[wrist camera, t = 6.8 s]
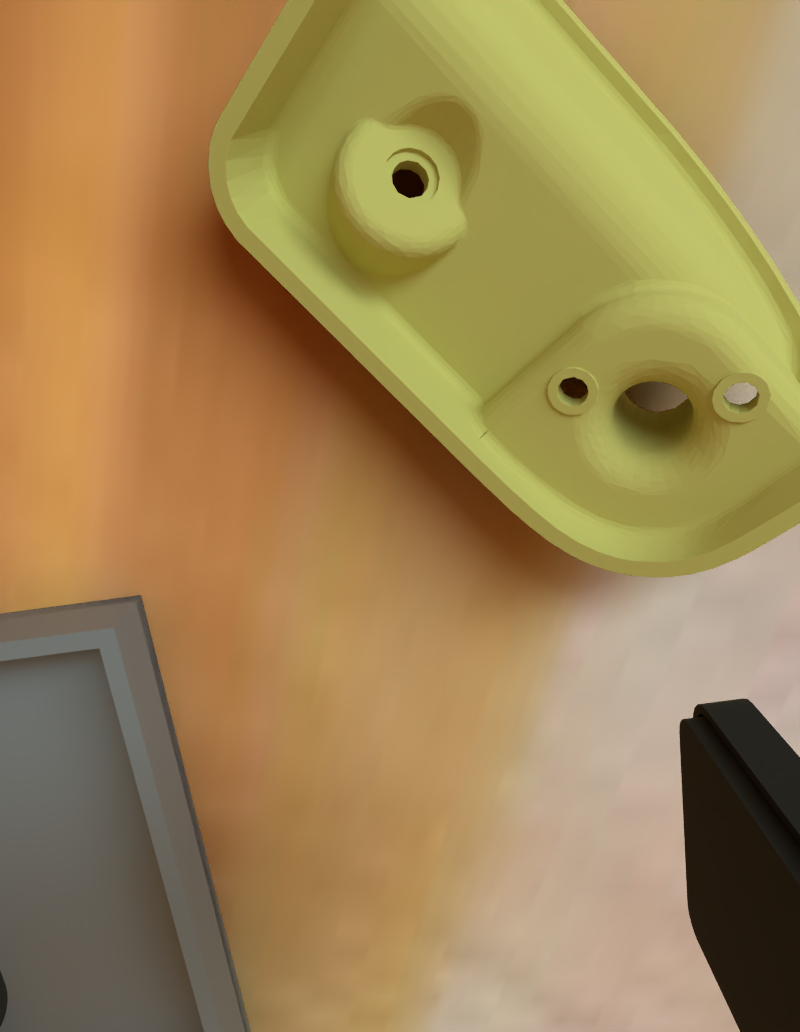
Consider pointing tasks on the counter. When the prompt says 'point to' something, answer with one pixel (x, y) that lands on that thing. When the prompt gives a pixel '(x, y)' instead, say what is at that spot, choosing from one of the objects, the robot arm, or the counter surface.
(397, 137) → the plastic component
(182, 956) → the tray
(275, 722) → the counter surface
